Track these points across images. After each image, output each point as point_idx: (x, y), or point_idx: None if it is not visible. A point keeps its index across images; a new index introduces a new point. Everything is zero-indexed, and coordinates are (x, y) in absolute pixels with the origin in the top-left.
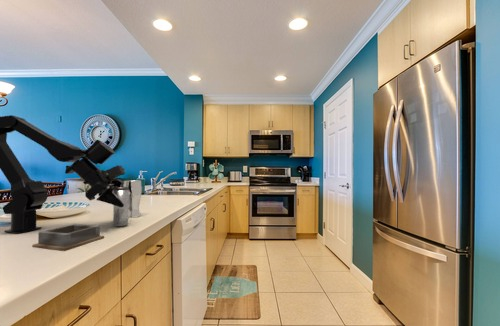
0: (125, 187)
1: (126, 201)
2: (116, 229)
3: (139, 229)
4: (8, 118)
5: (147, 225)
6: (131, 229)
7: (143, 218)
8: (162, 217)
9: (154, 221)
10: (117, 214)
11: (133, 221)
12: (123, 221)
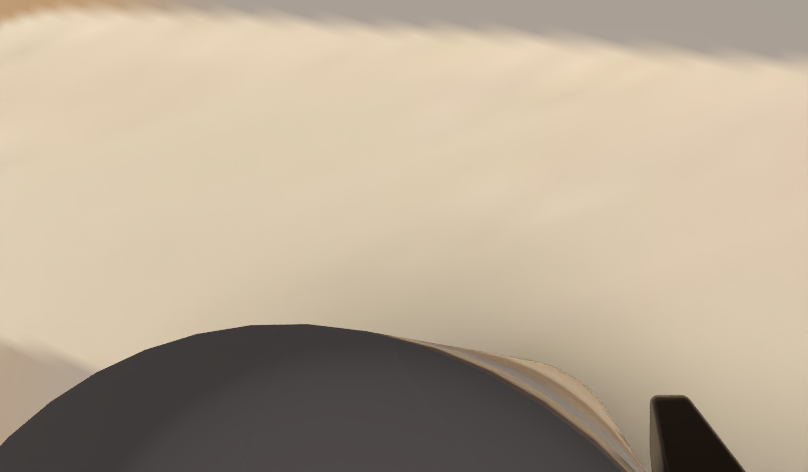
0: (551, 424)
1: (530, 367)
2: None
3: (775, 102)
4: None
5: (526, 70)
6: (759, 222)
7: (37, 280)
8: (41, 22)
9: (280, 53)
10: None
11: None
12: (598, 400)
